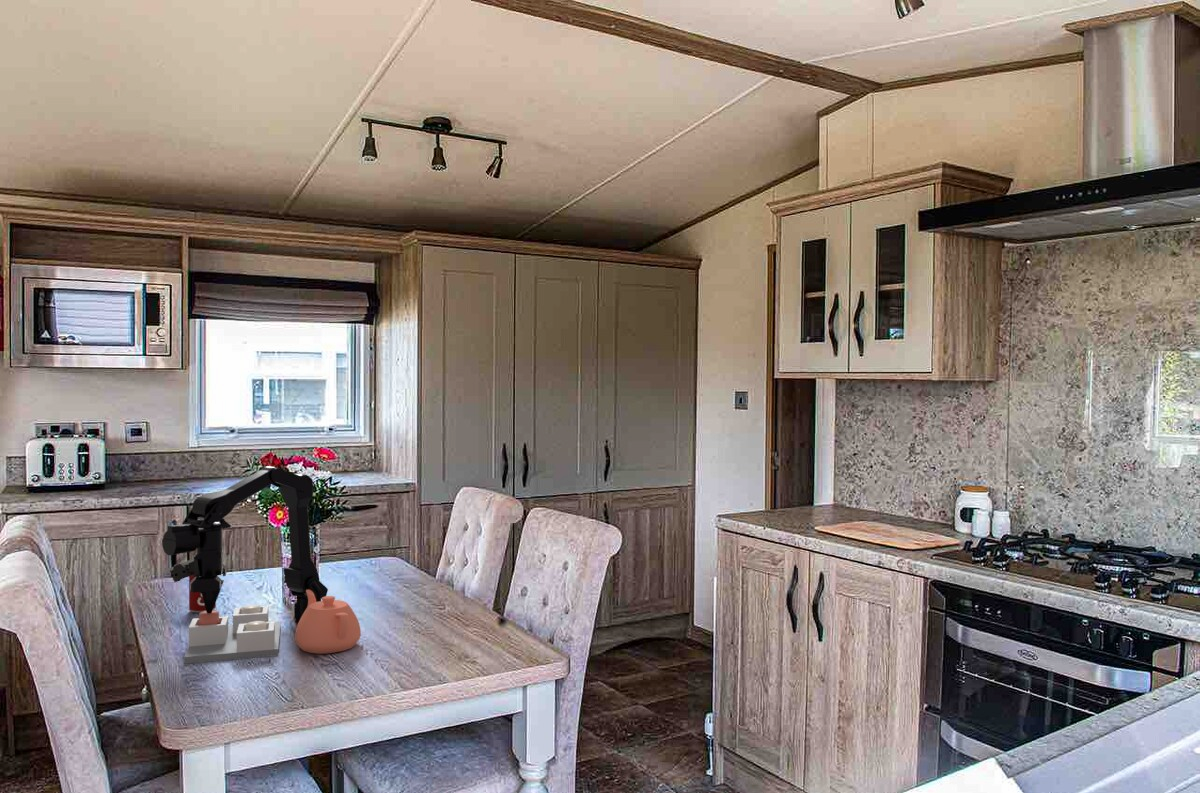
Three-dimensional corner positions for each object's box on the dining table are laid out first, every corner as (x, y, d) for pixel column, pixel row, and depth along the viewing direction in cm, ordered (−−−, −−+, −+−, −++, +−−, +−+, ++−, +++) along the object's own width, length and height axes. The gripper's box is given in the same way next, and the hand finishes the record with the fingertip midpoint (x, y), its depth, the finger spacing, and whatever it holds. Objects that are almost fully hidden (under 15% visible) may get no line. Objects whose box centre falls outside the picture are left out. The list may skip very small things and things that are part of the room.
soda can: (183, 612, 239) (183, 569, 238) (203, 606, 245) (203, 564, 245) (201, 615, 236) (202, 571, 236) (221, 609, 242) (221, 566, 242)
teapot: (278, 642, 213) (278, 592, 213) (336, 630, 223) (336, 583, 223) (315, 664, 197) (316, 610, 197) (376, 651, 207) (376, 600, 207)
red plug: (219, 630, 212) (219, 609, 212) (218, 635, 208) (218, 614, 208) (200, 631, 210) (200, 611, 210) (198, 636, 206) (198, 615, 206)
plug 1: (260, 623, 222) (260, 604, 222) (259, 628, 218) (259, 608, 218) (242, 625, 221) (242, 605, 221) (241, 629, 217) (241, 610, 217)
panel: (280, 627, 226) (280, 604, 225) (278, 655, 203) (278, 630, 203) (196, 633, 219) (196, 610, 219) (184, 663, 196) (184, 637, 196)
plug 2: (266, 641, 208) (266, 620, 208) (265, 646, 204) (265, 625, 204) (246, 642, 206) (246, 621, 206) (245, 648, 202) (245, 626, 202)
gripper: (177, 543, 215) (177, 605, 215) (166, 558, 197) (166, 626, 198) (226, 540, 218) (226, 602, 219) (219, 555, 201) (219, 622, 201)
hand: (209, 612), depth 209 cm, fingers closed, pressing on red plug
